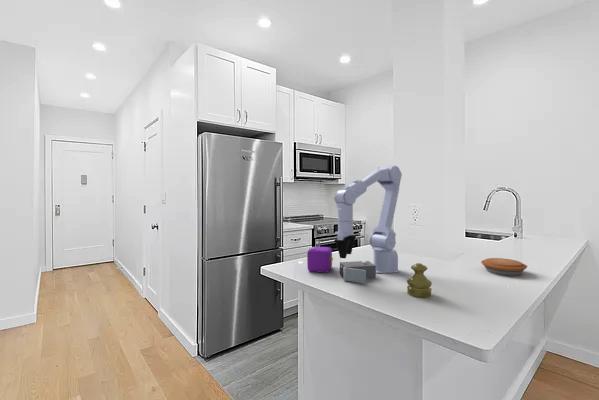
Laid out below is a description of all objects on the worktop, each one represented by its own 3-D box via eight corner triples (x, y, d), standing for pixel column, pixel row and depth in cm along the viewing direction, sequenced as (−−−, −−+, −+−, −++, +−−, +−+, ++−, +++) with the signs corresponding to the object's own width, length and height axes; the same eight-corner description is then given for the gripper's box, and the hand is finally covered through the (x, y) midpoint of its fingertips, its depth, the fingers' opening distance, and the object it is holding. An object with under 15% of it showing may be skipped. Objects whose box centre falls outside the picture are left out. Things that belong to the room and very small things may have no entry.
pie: (527, 280, 111) (527, 267, 111) (478, 273, 120) (479, 261, 120) (527, 271, 123) (527, 259, 123) (483, 265, 132) (483, 254, 132)
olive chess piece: (429, 299, 92) (429, 267, 92) (404, 295, 96) (404, 264, 96) (433, 292, 99) (433, 262, 98) (409, 289, 102) (409, 260, 102)
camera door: (366, 282, 109) (366, 269, 109) (365, 283, 108) (364, 270, 108) (344, 279, 114) (344, 266, 113) (343, 280, 112) (342, 267, 112)
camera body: (368, 272, 123) (368, 259, 123) (375, 278, 115) (375, 263, 115) (338, 274, 121) (338, 260, 121) (343, 280, 113) (343, 265, 113)
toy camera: (332, 265, 137) (332, 243, 137) (333, 273, 123) (332, 249, 123) (309, 265, 138) (308, 243, 138) (307, 273, 124) (306, 249, 124)
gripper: (340, 218, 123) (341, 251, 123) (329, 222, 110) (329, 259, 110) (357, 219, 120) (358, 252, 120) (348, 223, 107) (348, 260, 107)
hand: (345, 256), depth 115 cm, fingers open, 7 cm apart
